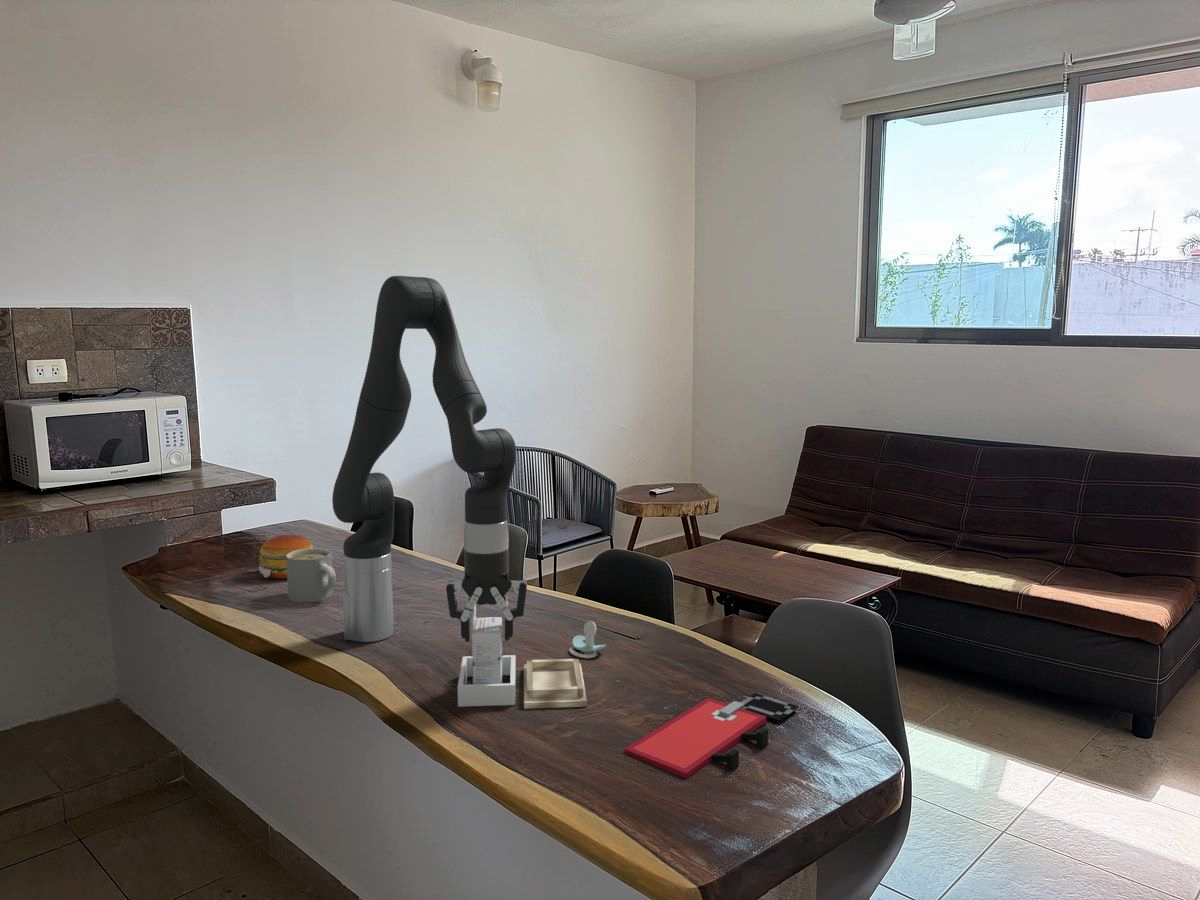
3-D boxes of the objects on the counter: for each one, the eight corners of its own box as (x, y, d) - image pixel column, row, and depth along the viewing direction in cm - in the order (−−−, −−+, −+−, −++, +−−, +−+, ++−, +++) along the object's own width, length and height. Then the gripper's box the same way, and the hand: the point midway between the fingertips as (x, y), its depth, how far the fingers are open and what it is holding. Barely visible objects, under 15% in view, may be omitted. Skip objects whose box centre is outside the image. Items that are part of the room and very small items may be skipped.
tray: (524, 708, 143) (523, 694, 143) (523, 669, 159) (523, 656, 159) (586, 706, 144) (587, 692, 144) (580, 668, 160) (580, 655, 160)
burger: (327, 572, 219) (325, 533, 217) (282, 585, 208) (280, 545, 206) (292, 563, 226) (290, 526, 225) (247, 576, 215) (244, 537, 213)
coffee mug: (280, 595, 200) (278, 553, 199) (321, 586, 207) (319, 545, 206) (306, 609, 191) (304, 565, 189) (348, 599, 198) (346, 557, 196)
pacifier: (587, 663, 163) (609, 654, 167) (586, 632, 162) (609, 623, 166) (561, 652, 168) (584, 643, 172) (561, 622, 167) (583, 614, 171)
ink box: (501, 699, 147) (500, 616, 144) (472, 700, 146) (471, 617, 144) (502, 679, 155) (502, 600, 153) (475, 679, 155) (474, 600, 152)
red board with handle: (809, 715, 142) (731, 691, 152) (809, 698, 142) (731, 675, 151) (708, 791, 120) (624, 757, 129) (708, 772, 119) (624, 740, 129)
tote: (457, 706, 144) (457, 686, 143) (463, 674, 157) (462, 656, 156) (515, 704, 145) (514, 685, 144) (515, 673, 157) (515, 655, 157)
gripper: (441, 552, 142) (443, 649, 145) (528, 551, 144) (529, 646, 146) (445, 540, 150) (447, 633, 152) (528, 539, 151) (528, 631, 154)
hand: (487, 639), depth 149 cm, fingers open, 6 cm apart
